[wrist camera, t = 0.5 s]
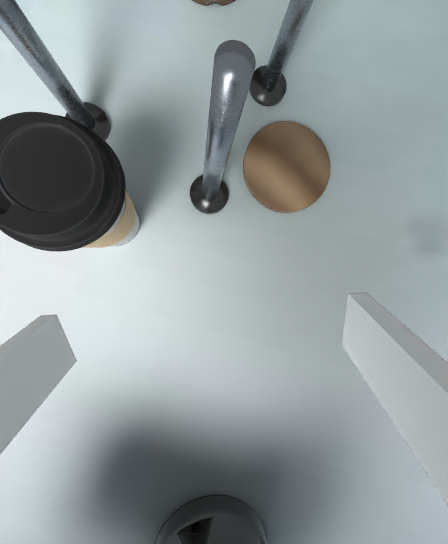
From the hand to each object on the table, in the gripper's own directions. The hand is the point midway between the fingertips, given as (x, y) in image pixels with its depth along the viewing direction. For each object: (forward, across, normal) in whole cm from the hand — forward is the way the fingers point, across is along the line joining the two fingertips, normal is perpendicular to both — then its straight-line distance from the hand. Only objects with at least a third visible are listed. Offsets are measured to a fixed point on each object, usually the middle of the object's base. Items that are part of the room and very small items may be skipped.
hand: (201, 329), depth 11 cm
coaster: (+27, -10, -6) cm, 29 cm away
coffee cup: (+21, +13, -2) cm, 25 cm away
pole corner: (+24, +1, -4) cm, 24 cm away
